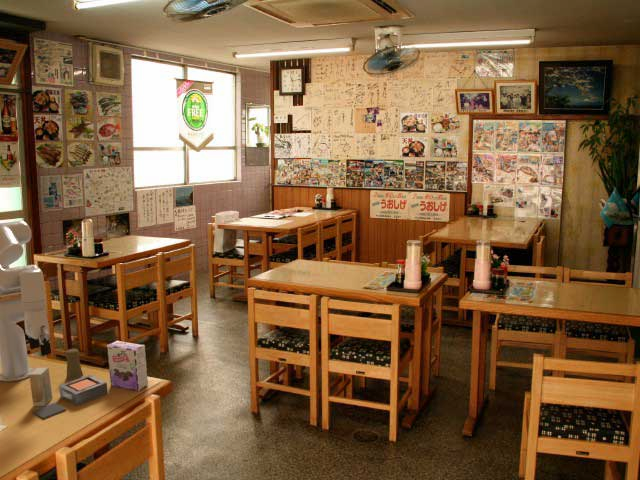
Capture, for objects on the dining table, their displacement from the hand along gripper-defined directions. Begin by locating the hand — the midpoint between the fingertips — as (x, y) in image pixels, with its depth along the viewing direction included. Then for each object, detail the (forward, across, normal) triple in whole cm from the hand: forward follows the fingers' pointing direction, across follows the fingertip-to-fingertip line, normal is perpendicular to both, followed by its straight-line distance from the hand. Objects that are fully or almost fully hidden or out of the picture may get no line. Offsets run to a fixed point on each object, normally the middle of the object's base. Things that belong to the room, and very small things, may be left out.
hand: (40, 351), depth 212 cm
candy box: (+20, +9, +27) cm, 35 cm away
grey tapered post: (+20, -16, +17) cm, 31 cm away
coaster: (+20, +7, -2) cm, 21 cm away
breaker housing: (+20, +4, +12) cm, 23 cm away
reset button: (+17, +4, +12) cm, 21 cm away
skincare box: (+20, -2, -1) cm, 20 cm away
